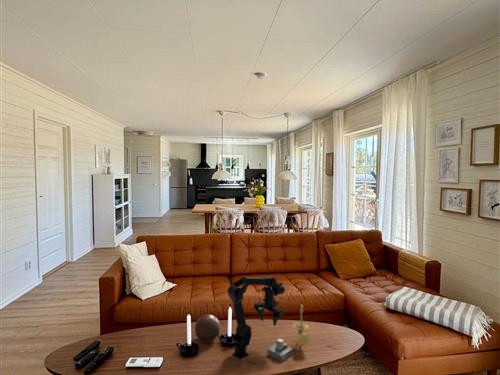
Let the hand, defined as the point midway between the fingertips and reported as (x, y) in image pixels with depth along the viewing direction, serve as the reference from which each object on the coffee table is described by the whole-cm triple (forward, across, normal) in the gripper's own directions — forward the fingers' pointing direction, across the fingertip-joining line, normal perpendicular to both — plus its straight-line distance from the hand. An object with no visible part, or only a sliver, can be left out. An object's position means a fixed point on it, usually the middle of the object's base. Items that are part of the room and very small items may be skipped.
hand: (268, 323), depth 184 cm
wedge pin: (+12, -12, +5) cm, 18 cm away
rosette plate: (+12, -12, +5) cm, 18 cm away
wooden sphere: (+12, +29, +22) cm, 38 cm away
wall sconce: (+12, -16, -11) cm, 23 cm away
